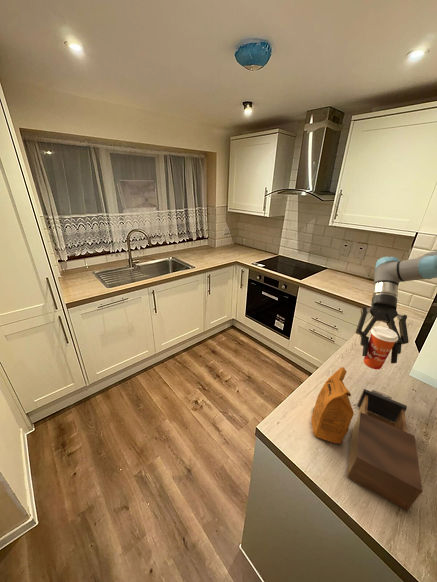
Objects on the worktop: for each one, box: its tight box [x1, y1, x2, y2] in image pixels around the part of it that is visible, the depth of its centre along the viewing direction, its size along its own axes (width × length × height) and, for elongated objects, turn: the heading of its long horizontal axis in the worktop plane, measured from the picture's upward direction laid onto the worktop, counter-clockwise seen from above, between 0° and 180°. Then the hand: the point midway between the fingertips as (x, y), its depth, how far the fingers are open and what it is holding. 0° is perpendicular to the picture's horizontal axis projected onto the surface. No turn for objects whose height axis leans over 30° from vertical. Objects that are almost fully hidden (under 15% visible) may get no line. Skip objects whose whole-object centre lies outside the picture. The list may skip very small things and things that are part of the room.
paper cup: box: [363, 325, 398, 371], centre depth 81 cm, size 8×8×14 cm
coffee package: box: [311, 366, 355, 444], centre depth 74 cm, size 10×12×22 cm
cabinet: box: [346, 412, 423, 512], centre depth 65 cm, size 16×14×10 cm
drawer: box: [356, 388, 408, 433], centre depth 77 cm, size 20×12×8 cm, turn 148°
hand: (378, 359), depth 79 cm, fingers closed on paper cup, 8 cm apart
